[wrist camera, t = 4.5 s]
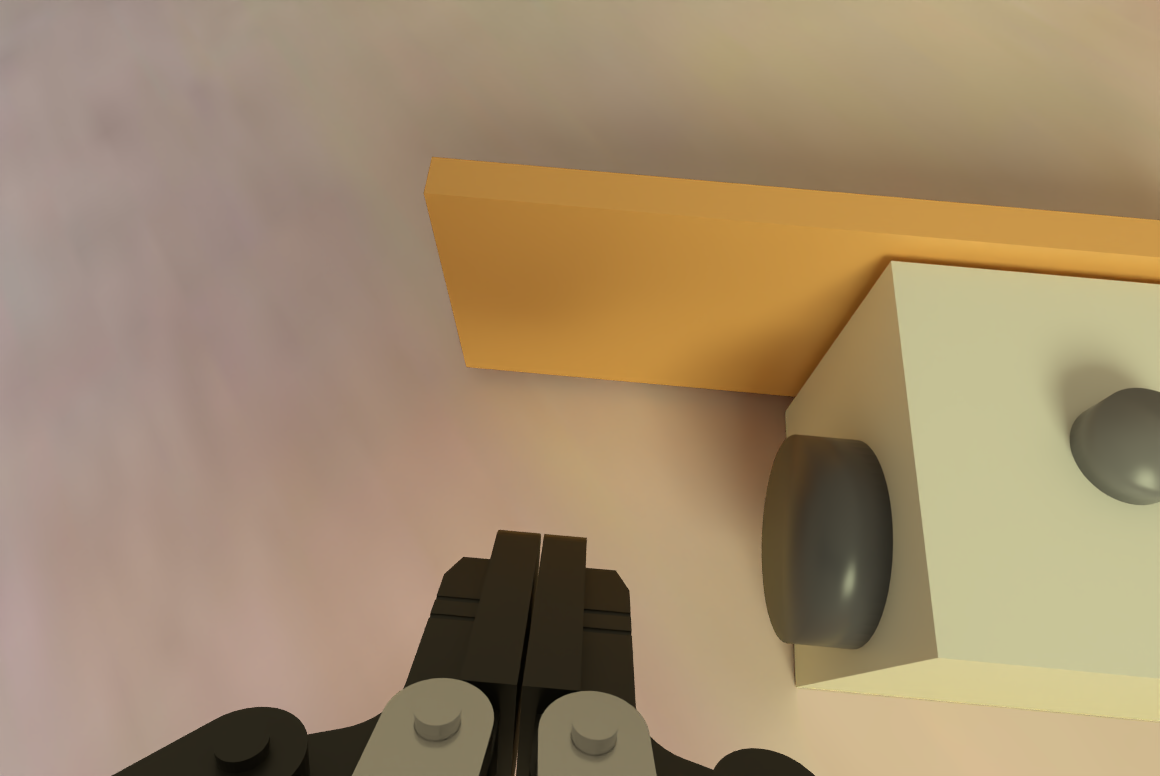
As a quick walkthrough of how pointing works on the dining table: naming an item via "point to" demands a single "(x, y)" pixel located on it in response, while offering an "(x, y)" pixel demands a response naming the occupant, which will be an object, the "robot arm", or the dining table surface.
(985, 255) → the side door
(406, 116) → the dining table surface
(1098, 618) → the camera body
